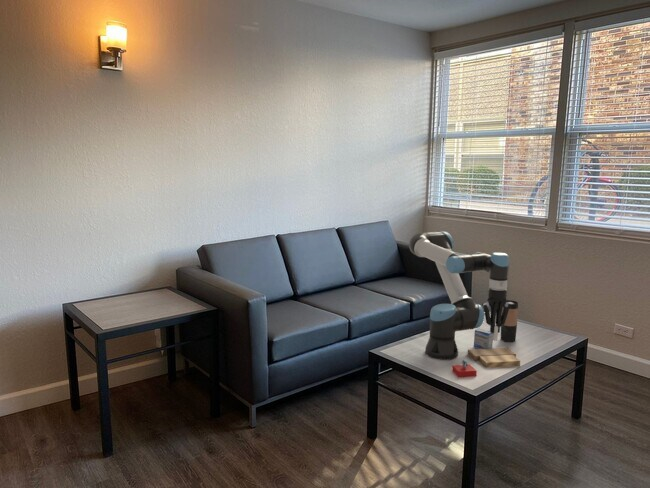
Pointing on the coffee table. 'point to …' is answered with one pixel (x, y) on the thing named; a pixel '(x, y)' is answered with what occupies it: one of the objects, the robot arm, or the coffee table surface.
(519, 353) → the coffee table surface
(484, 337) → the medicine box
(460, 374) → the red rectangular block
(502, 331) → the travel mug
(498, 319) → the robot arm
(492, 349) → the laid strip
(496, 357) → the plank
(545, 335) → the coffee table surface
